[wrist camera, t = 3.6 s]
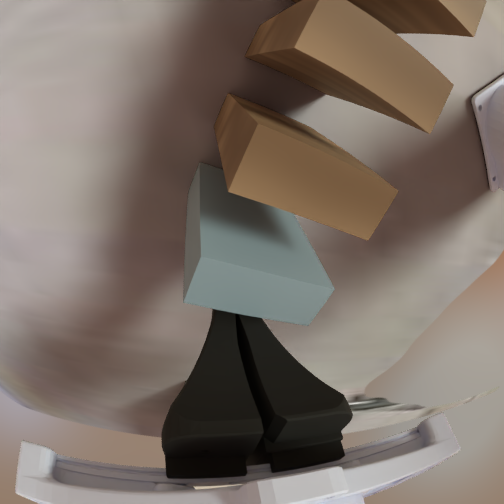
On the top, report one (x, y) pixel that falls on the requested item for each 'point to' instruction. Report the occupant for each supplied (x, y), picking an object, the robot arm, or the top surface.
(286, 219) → the slate domino
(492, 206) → the top surface
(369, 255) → the top surface
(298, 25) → the walnut domino
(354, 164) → the walnut domino
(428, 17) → the walnut domino
